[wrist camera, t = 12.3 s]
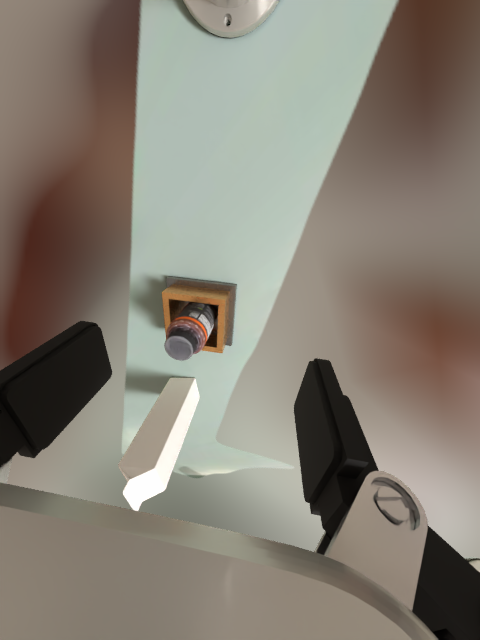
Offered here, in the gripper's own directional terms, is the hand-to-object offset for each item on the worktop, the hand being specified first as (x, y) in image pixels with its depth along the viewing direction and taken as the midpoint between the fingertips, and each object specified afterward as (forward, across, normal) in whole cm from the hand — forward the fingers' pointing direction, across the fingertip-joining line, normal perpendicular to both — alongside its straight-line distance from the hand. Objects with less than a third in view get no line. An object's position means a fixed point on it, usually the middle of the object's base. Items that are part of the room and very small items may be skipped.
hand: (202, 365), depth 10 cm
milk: (+26, +11, +32) cm, 43 cm away
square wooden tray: (+27, +7, +12) cm, 30 cm away
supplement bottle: (+26, +7, +12) cm, 29 cm away
